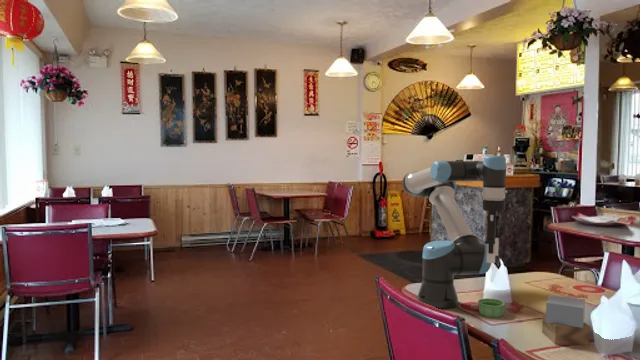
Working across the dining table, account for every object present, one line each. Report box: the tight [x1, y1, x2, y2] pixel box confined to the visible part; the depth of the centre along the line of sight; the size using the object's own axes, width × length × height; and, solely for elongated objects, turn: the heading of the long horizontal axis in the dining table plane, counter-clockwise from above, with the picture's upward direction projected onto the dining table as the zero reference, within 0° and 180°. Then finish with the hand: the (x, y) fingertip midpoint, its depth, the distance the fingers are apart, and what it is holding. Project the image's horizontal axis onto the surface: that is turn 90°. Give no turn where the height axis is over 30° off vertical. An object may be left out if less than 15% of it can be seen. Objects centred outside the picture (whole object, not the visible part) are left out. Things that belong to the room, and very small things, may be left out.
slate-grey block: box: [545, 294, 586, 328], centre depth 150 cm, size 10×10×6 cm
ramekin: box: [477, 298, 506, 318], centre depth 173 cm, size 9×9×4 cm
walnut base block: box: [541, 314, 591, 346], centre depth 150 cm, size 10×10×6 cm
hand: (492, 259), depth 172 cm, fingers open, 13 cm apart
